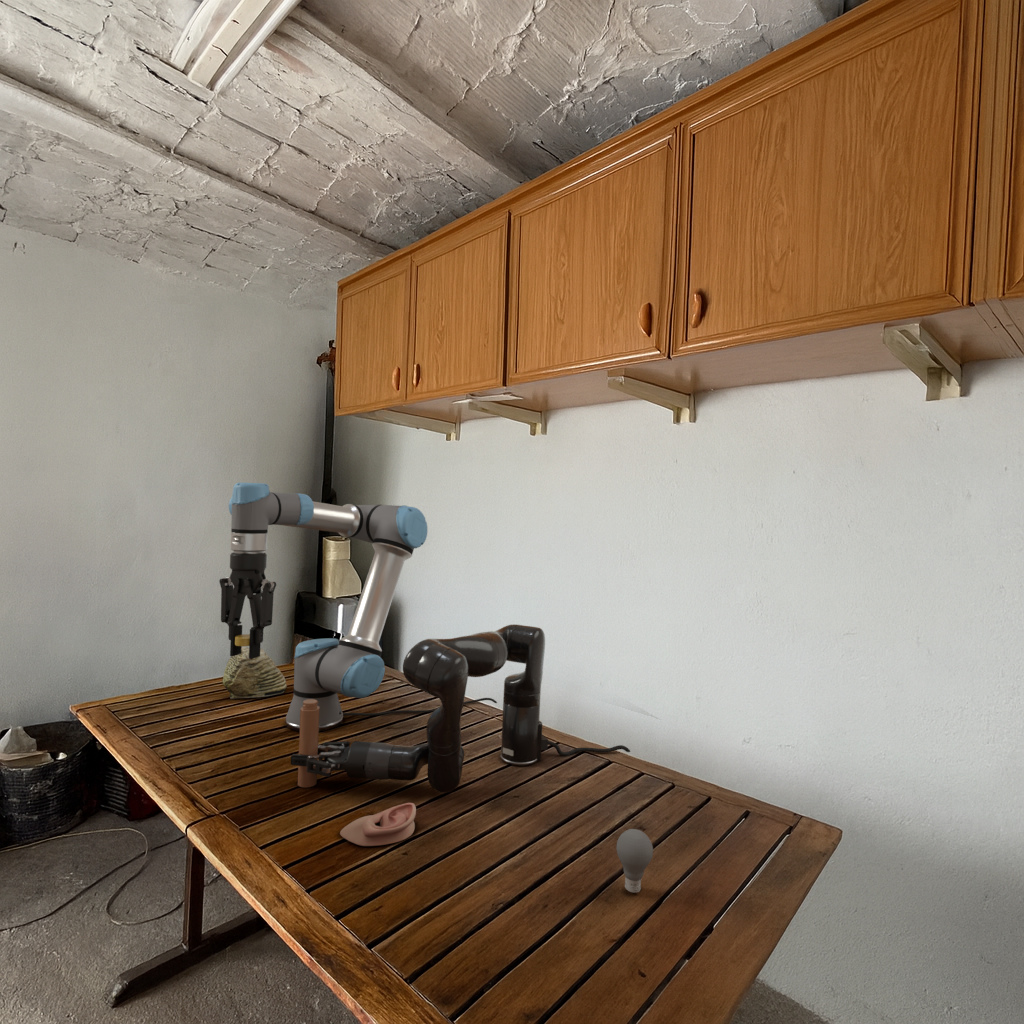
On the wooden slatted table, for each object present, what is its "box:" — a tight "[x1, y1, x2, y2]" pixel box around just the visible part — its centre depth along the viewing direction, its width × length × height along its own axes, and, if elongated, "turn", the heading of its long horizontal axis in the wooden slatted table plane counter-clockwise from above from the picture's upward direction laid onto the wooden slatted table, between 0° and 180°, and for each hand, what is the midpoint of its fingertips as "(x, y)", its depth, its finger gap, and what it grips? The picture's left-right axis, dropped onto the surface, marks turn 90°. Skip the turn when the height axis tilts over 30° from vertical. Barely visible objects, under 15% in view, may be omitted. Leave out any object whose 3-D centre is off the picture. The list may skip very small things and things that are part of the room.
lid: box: [235, 633, 250, 647], centre depth 141 cm, size 4×4×2 cm
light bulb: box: [615, 828, 654, 894], centre depth 106 cm, size 6×6×10 cm
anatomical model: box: [339, 802, 417, 847], centre depth 121 cm, size 13×4×12 cm
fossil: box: [222, 646, 288, 699], centre depth 198 cm, size 9×18×15 cm, turn 132°
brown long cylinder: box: [297, 699, 320, 789], centre depth 139 cm, size 4×4×18 cm
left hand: (245, 655), depth 141 cm, fingers closed on lid, 4 cm apart
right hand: (296, 755), depth 140 cm, fingers closed on brown long cylinder, 4 cm apart
